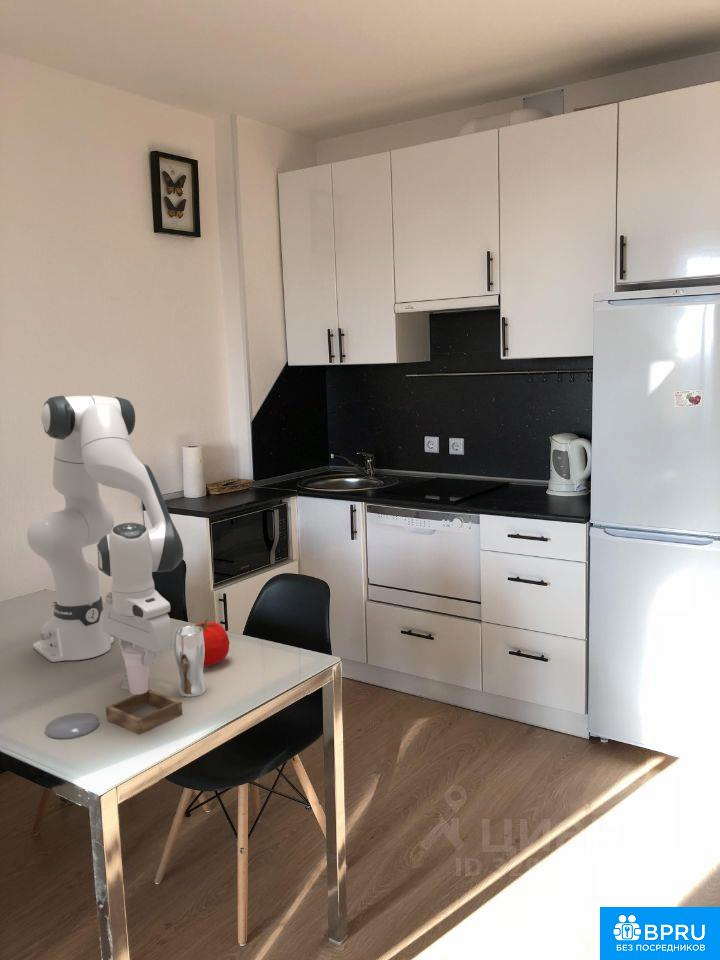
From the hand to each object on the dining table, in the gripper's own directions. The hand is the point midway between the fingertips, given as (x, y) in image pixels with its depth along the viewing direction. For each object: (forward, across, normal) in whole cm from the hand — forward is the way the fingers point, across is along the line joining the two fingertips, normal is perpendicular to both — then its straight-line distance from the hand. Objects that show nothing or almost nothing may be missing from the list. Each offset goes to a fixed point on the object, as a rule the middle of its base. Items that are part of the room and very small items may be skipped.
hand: (137, 661), depth 178 cm
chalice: (+14, -16, +9) cm, 23 cm away
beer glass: (+13, -1, +15) cm, 20 cm away
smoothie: (+7, 0, 0) cm, 7 cm away
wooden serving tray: (+13, +1, 0) cm, 13 cm away
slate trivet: (+13, -8, -12) cm, 19 cm away
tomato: (+13, -11, +28) cm, 33 cm away
